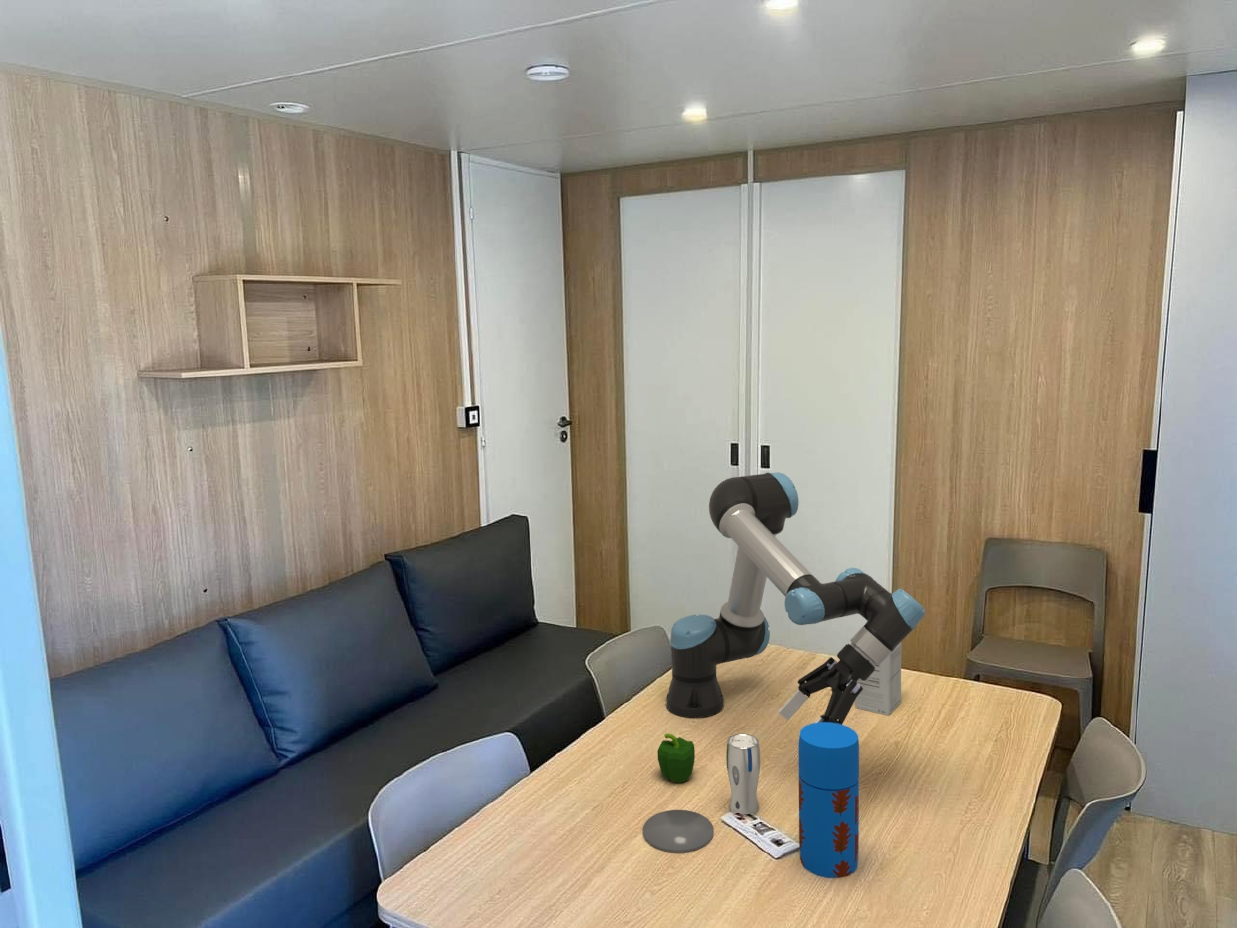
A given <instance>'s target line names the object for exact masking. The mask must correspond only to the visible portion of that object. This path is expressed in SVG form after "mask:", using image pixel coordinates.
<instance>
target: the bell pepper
mask: <svg viewBox="0 0 1237 928" xmlns="http://www.w3.org/2000/svg"><path fill="white" fill-rule="evenodd" d="M664 738H665V739H666V740H664V739H662V740H661V743H660V745H659V747H658V749H657V753H656V754H657V762H658V765H659V769H660V773H661V775H662V777H664V778H665V779H666V780H671V782H673V783H684V782H687V781H688V780H689V779H690V777H691V776H692V774H693V770H694V765H695V758H696V757H695V756H696V755H695V745H694V742H693V741H692V740H686V739H684V738H683V737H680V736H679V737H677V736H675V735H674V734H672V733H665V734H664ZM667 739H671V740H667Z"/></svg>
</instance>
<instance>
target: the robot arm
mask: <svg viewBox="0 0 1237 928" xmlns="http://www.w3.org/2000/svg"><path fill="white" fill-rule="evenodd" d="M708 503H709V504H708V511H709V517H710V519H711V522H712V524H713V525H714V526H715V528H716V530H717V531H718V532H719V533H720V534H721V535H722V536H723V537H724V538H727V539H732V541H733V542H734V543H735V544H736V545H737V552H736V558H735V563H734V569H733V573H732V577H731V578H732V579H731V585H730V589H729V595H728V598H727V599H728V600H727V602H724V603H723V604H722V605H721V607H720V612H719V616H718V618H714V617H712V616H711V615H708V614H697V615H696V614H693V615H687V616H684V617H681V618H679V619H677V620H676V621H675V622H674V623H673V625H672V627H671V630H670V640H669V641H670V652H671V658H670V659H671V680H670V683H669V689H668V693H667V694H666V696H665V704H666V709H667V710H668V711H669V712H670V713H672V714H674V715H676V716H680V717H683V718H693V719H694V718H695V717H699V718H706V716H707V717H711V716H714V715H716V713H717V712H718V713H720V712H721V711H723V709H724V706H725V704H724V703H725V702H724V695H723V693H722V689H721V687H720V684H719V681H718V679H717V665H720V664H724V663H730V662H733V661H738V660H742V659H743V660H744V659H749V658H753V657H755V656H757V655H760V654H761V653H764V651H765V650H766V648H767V647H768V644H770V643H769V642H770V637H771V635H770V634H771V633H770V632H771V631H770V629H769V628H770V625H769V622H768V620H767V618H766V617H765V615H764V612H763V610H762V609H761V606H762V601H763V597H764V592H765V587H766V583H767V579H768V580H769V581H770V582H771V584H773V585H774V586H775V588H777V590H778V591H780V593H781V594H782V595H783V596H784V609H785V612H786V613H787V616H788V618H789V620H790V621H791V622H792V623H794V624H795V625H798V626H805V625H814V624H819V623H821V622H825V621H830V620H833V619H839V618H844V617H848V616H853V615H857V614H858V615H860V616H861V617H862V618H864V619H865V620H866V622H865V623H864V625H863V626H861V628H860V629H859V630H858V631H857V632H856V633H855V634H854V635H853V637H852V638H851V639H850V642H851V643H847V644H845V645H844V646H843V647H842V648H841V649H840V651H838V653H837V654H836V657H837V659H838V660H839V661H837V660H836V659H835V658H833V657H829V658H828V659H827V660H826V661H825V662H824V663H822V664H821V665H819V666H818V667H816V668H815V669H813V670H812V671H810V672H809V673H807V674H805V675H804V676H802V677H800V678H799V679H798V680H797V684H798V688H797V690H796V691H795V693H793V695H792V696H791V697H790V698H789V699H788V700H787V701H786V702H785V703H784V705H782V707H780V709H779V710H778V711H777V713H778V714H779V715H780V716H782V717H783V718H784V719H785V720H786V721H787V722H788V721H789V720H790V719H791V718H792V717H793V716H794V715H795V714H796V712H797V711H798V710H799V709H800V708H801V707H802V706H803V705H804V704H805V703H806V702H807V701H808V700H809V699H810V697H811V695H813V694H814V693H817V692H820V691H823V690H824V689H825V690H826V689H827V688H831V689H830V690H831V694H830V698H829V701H828V704H827V706H826V708H825V711H824V714H822V715H820V716H819V717H818V718H817V719H816V720H815V722H814V723H819V722H830V723H837V724H841V725H844V722H845V720H846V719H847V716H848V714H849V712H850V711H851V708H852V707H853V705H854V704H855V699H856V697H857V696H858V695H859V694H860V692H861V691H862V690H863V687H862V686H860V685H859V684H858V683H857V681H858V679H861V680H863V681H865V680H866V679H867V678H868V677H869V676H870V675H871V674H872V673H873V672H874V671H875V667H874V666H875V665H877V666H879V665H880V664H881V663H882V662H883V661H884V660H885V659H886V658H887V657H888V655H889V654H890V653H891V652H892V651H893V650H894V649H895V648H896V646H897V645H898V644H899V643H900V642H901V643H902V642H903V640H905V638H906V637H907V636H908V635H910V633H911V632H912V631H914V630H915V629H916V627H917V626H918V625H919V623H920V622H921V621H922V620H923V618H924V617H925V615H926V610H925V608H924V607H923V605H922V604H920V603H919V601H917V600H916V599H915V598H914V597H913V596H912V595H911V594H909V593H908V592H907V591H905V590H904V589H902V588H898V589H897V590H895V591H894V592H893V593H891V592H890V591H889V590H887V589H886V588H884V587H883V586H882V585H881V584H880V583H878V582H877V581H876V580H875V579H874V578H873V577H872V576H870V575H869V574H867V573H866V572H864V571H862V570H861V569H860V568H856V567H849V568H846V569H845V571H842V572H840V573H839V575H838V576H837V577H836V579H835V580H834V581H831V582H826V583H822V582H820V580H819V579H817V577H815V576H814V575H813V574H812V572H810V571H809V569H807V568H806V567H805V565H803V563H801V561H800V560H798V559H797V558H796V557H795V556H794V555H793V553H792V552H790V550H789V549H788V548H787V547H786V546H785V545H784V544H783V543H782V542H781V541H780V540H779V539H778V538H777V535H779V534H781V533H783V530H784V527H785V522H786V519H791V518H792V517H793V516H795V515H796V514H797V512H798V511H799V503H800V501H799V496H798V491H797V489H796V487H795V484H794V482H793V481H792V480H791V478H790V477H788V475H786V474H784V473H782V472H768V471H767V472H765V473H760V474H752V475H743V476H733V477H729V478H727V479H726V478H725V480H723V481H721V482H720V483H719V484H718V485H717V486H716V487H715V488H714V489H713V491H712V492H711V495H710V497H709V501H708ZM722 708H723V709H722ZM720 710H721V711H720ZM719 711H720V712H719ZM718 713H717V714H718ZM713 714H714V715H713ZM797 741H798V742H799V739H798V740H797Z"/></svg>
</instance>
